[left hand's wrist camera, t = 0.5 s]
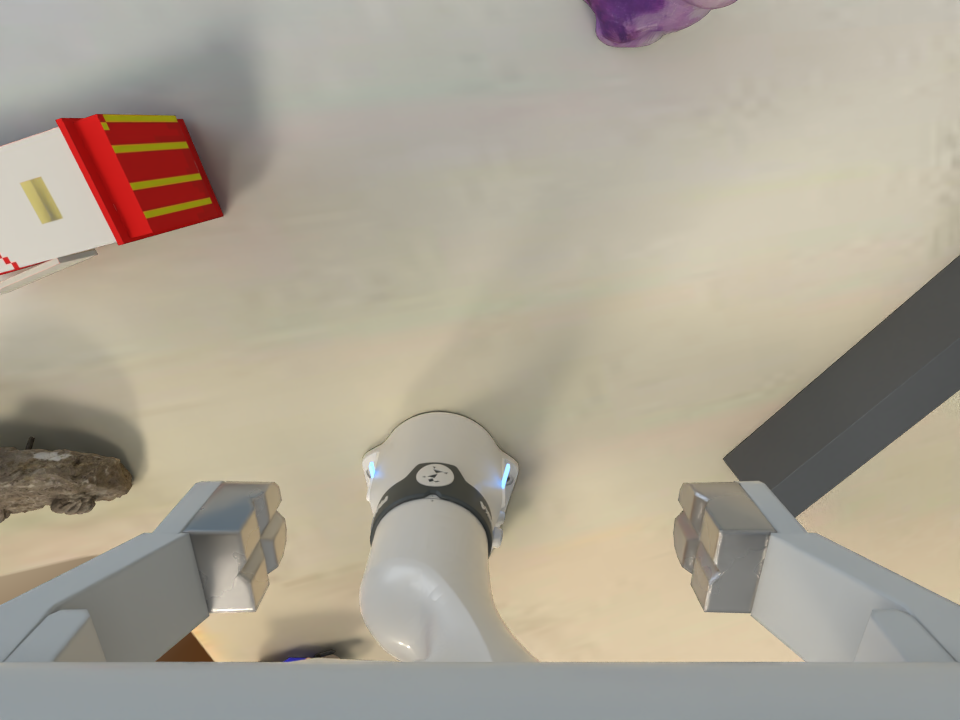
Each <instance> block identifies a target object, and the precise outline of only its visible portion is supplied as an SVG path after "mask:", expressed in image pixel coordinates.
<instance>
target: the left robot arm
mask: <svg viewBox="0 0 960 720" xmlns="http://www.w3.org/2000/svg"><path fill="white" fill-rule="evenodd" d="M362 467H363V471H364V475H365V479H366V482H367V486H368V492H367V501H369V502H370V506H371V510H372V513H373V520H372V525H371V535H370V544H371V550H370V553H369V557H368V561H367V564H366V568H365V571H364V575H363V579H362V582H361V586H360V592H359V604H360V610H361V614H362V617H363V620H364V622H365V624H366V626H367V628H368V629H369V631H370V633H371V634H372V636H373V637H374V639H375V640H376V642H377V643H378V644H379V645H380V646H381V648H382V649H384V650H385V651H386V652H387V653H389V654H390V655H391V656H393V657H394V658H396V659H397V660H399V661H400V662H392V661H373V660H354V659H334V658H312V659H305V660H298V661H292V662H155V661H156V660H157V659H159V658H160V657H161V656H162V655H163V654H164V653H166V652H167V651H168V650H169V649H170V648H172V647H173V646H174V645H175V644H176V643H178V642H179V641H180V640H181V639H182V638H183V637H185V636H186V635H187V634H188V633H189V632H191V631H192V630H193V629H194V628H195V627H197V626H198V625H199V624H200V623H201V622H203V621H204V620H205V619H206V618H207V617H208V616H209V613H235V612H256V610H257V608H258V606H259V604H260V602H261V600H262V598H263V596H264V594H265V592H266V590H267V588H268V586H269V579H268V574H269V573H270V572H271V571H273V570H274V569H276V568H277V567H278V566H279V564H280V561H281V559H282V557H283V554H284V549H285V545H286V523H285V518H284V517H283V516H282V515H281V514H280V513H279V512H278V511H277V508H278V506H279V504H280V503H281V501H282V499H281V494H280V489H279V486H278V485H277V484H276V483H275V482H239V481H226V482H224V481H201V482H198V483H195V484H194V486H193V487H192V488H191V489H190V490H189V491H188V492H187V494H186V495H185V496H184V497H183V498H182V499H181V500H180V502H179V503H178V504H177V505H176V506H175V507H174V508H173V510H172V511H171V512H170V513H169V514H168V515H167V516H166V518H165V519H164V520H163V521H162V522H161V523H160V524H159V526H158V527H157V528H156V529H155V530H154V531H153V532H152V533H143V534H141V535H139V536H137V537H135V538H133V539H131V540H129V541H127V542H125V543H123V544H121V545H119V546H117V547H115V548H113V549H111V550H109V551H107V552H105V553H103V554H101V555H99V556H97V557H95V558H93V559H91V560H89V561H87V562H85V563H83V564H81V565H79V566H77V567H75V568H73V569H71V570H69V571H67V572H65V573H63V574H61V575H59V576H57V577H55V578H54V579H51V580H49V581H47V582H45V583H43V584H42V585H40V586H38V587H36V588H34V589H32V590H30V591H28V592H26V593H24V594H22V595H20V596H18V597H16V598H14V599H12V600H10V601H8V602H6V603H4V604H2V605H0V720H960V605H958V604H956V603H954V602H952V601H950V600H948V599H946V598H944V597H942V596H940V595H938V594H936V593H934V592H932V591H930V590H928V589H926V588H924V587H922V586H920V585H918V584H916V583H914V582H912V581H910V580H908V579H906V578H904V577H902V576H900V575H898V574H896V573H894V572H892V571H890V570H888V569H887V568H885V567H883V566H881V565H879V564H877V563H875V562H873V561H871V560H869V559H867V558H865V557H863V556H861V555H859V554H857V553H855V552H853V551H851V550H849V549H847V548H845V547H843V546H841V545H839V544H837V543H835V542H833V541H831V540H829V539H827V538H825V537H823V536H821V535H819V534H817V533H808V532H807V531H806V530H805V529H804V528H803V527H802V526H801V524H800V523H799V522H798V521H797V520H796V519H795V518H794V516H793V515H792V514H791V513H790V512H789V511H788V510H787V508H786V507H785V506H784V505H783V504H782V503H781V502H780V500H779V499H778V498H777V497H776V496H775V495H774V494H773V492H772V491H771V490H770V489H769V488H768V487H767V486H766V484H764V483H762V482H760V481H738V482H711V483H683V485H682V487H681V489H680V493H679V498H678V501H679V503H680V504H681V506H682V508H683V511H682V512H681V513H680V514H679V515H678V516H677V517H676V518H675V524H674V531H673V535H674V547H675V550H676V554H677V557H678V559H679V561H680V564H681V566H682V567H683V568H684V569H686V570H687V571H689V572H690V573H691V574H692V579H691V586H692V588H693V590H694V592H695V594H696V596H697V598H698V600H699V602H700V604H701V606H702V608H703V610H704V612H724V613H751V616H752V617H753V618H754V619H755V620H757V621H758V622H759V623H760V624H761V625H762V626H764V627H765V628H766V629H767V630H768V631H770V632H771V633H772V634H773V635H774V636H776V637H777V638H778V639H779V640H780V641H781V642H783V643H784V644H785V645H786V646H787V647H789V648H790V649H791V650H792V651H793V652H794V653H796V654H797V655H798V656H799V657H800V658H802V659H803V660H804V661H805V662H540V661H539V660H537V659H536V658H535V657H534V656H533V655H532V654H531V653H530V652H529V651H528V650H527V649H526V648H525V647H524V646H523V645H522V644H521V643H520V642H519V641H518V640H517V639H516V637H515V636H514V635H513V634H512V633H511V631H510V630H509V629H508V627H507V626H506V624H505V623H504V621H503V620H502V618H501V616H500V615H499V613H498V611H497V609H496V606H495V604H494V601H493V596H492V590H491V583H490V574H489V562H488V559H489V557H490V555H491V552H492V549H493V547H494V548H499V547H500V545H501V541H502V534H503V531H502V529H501V528H500V526H501V524H503V523H504V520H505V511H506V508H507V505H508V502H509V499H510V496H511V493H512V490H513V488H514V485H515V482H516V479H517V476H518V472H519V465H518V463H517V462H516V461H515V460H514V459H513V458H512V457H510V456H509V455H507V454H506V453H504V452H503V451H501V450H500V449H499V447H498V446H497V445H496V443H495V441H494V440H493V438H492V437H491V436H490V434H489V433H488V432H487V431H486V430H485V429H484V428H483V427H481V426H480V425H479V424H477V423H476V422H474V421H472V420H471V419H469V418H466V417H464V416H461V415H457V414H453V413H447V412H431V413H425V414H421V415H418V416H415V417H412V418H410V419H408V420H406V421H405V422H403V423H402V424H400V425H399V426H398V427H397V428H396V429H395V430H394V431H393V432H392V433H391V434H390V436H389V437H388V438H387V439H386V441H385V442H384V443H383V444H381V445H379V446H377V447H375V448H374V449H372V450H370V451H368V452H367V453H366V454H365V455H364V456H363V460H362ZM508 476H509V477H508ZM507 477H508V478H507Z"/></svg>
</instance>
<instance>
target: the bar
mask: <svg viewBox="0 0 960 720" xmlns="http://www.w3.org/2000/svg"><path fill="white" fill-rule="evenodd" d="M959 390H960V256H958V257H957V258H956V259H955V260H954V261H953V262H951V263H950V264H949V265H948V266H947V267H946V268H944V269H943V270H942V271H941V272H940V273H939V274H937V275H936V276H935V277H934V278H933V279H932V280H931V281H929V282H928V283H927V284H926V285H925V286H924V287H922V288H921V289H920V290H919V291H918V292H917V293H915V294H914V295H913V296H912V297H911V298H910V299H908V300H907V301H906V302H905V303H904V304H903V305H901V306H900V307H899V308H898V309H897V310H896V311H894V312H893V313H892V314H891V315H890V316H889V317H887V318H886V319H885V320H884V321H883V322H882V323H880V324H879V325H878V326H877V327H876V328H875V329H873V330H872V331H871V332H870V333H869V334H868V335H866V336H865V337H864V338H863V339H862V340H861V341H859V342H858V343H857V344H856V345H855V346H854V347H853V348H851V349H850V350H849V351H848V352H847V353H846V354H844V355H843V356H842V357H841V358H840V359H839V360H837V361H836V362H835V363H834V364H833V365H832V366H830V367H829V368H828V369H827V370H826V371H825V372H823V373H822V374H821V375H820V376H819V377H818V378H816V379H815V380H814V381H813V382H812V383H811V384H809V385H808V386H807V387H806V388H805V389H804V390H802V391H801V392H800V393H799V394H798V395H797V396H795V397H794V398H793V399H792V400H791V401H790V402H788V403H787V404H786V405H785V406H784V407H783V408H782V409H780V410H779V411H778V412H777V413H776V414H775V415H773V416H772V417H771V418H770V419H769V420H768V421H766V422H765V423H764V424H763V425H762V426H761V427H759V428H758V429H757V430H756V431H755V432H754V433H752V434H751V435H750V436H749V437H748V438H747V439H745V440H744V441H743V442H742V443H741V444H740V445H738V446H737V447H736V448H735V449H734V450H733V451H731V452H730V453H729V454H728V455H727V456H726V457H724V458H723V460H724V461H725V463H726V464H727V465H728V466H729V468H730V469H731V470H732V472H733V473H734V474H735V475H736V477H737V478H738V479H739V481H760V482H762V483H764V484H766V486H767V487H768V488H769V489H770V490H771V491H772V492H773V494H774V495H775V496H776V497H777V498H778V499H779V500H780V502H781V503H782V504H783V505H784V506H785V507H786V508H787V510H788V511H789V512H790V513H791V514H792V515H793V516H794V518H795V517H796V516H798V515H799V514H800V513H802V512H803V511H804V510H805V509H807V508H808V507H809V506H811V505H812V504H813V503H815V502H816V501H817V500H818V499H820V498H821V497H822V496H824V495H825V494H826V493H827V492H829V491H830V490H831V489H833V488H834V487H835V486H836V485H838V484H839V483H840V482H842V481H843V480H844V479H845V478H847V477H848V476H849V475H851V474H852V473H853V472H854V471H856V470H857V469H858V468H860V467H861V466H862V465H863V464H865V463H866V462H867V461H869V460H870V459H871V458H872V457H874V456H875V455H876V454H878V453H879V452H880V451H881V450H883V449H884V448H885V447H887V446H888V445H889V444H890V443H892V442H893V441H894V440H896V439H897V438H898V437H899V436H901V435H902V434H903V433H905V432H906V431H907V430H908V429H910V428H911V427H912V426H914V425H915V424H916V423H917V422H919V421H920V420H921V419H923V418H924V417H925V416H927V415H928V414H929V413H930V412H932V411H933V410H934V409H936V408H937V407H938V406H939V405H941V404H942V403H943V402H945V401H946V400H947V399H948V398H950V397H951V396H952V395H954V394H955V393H956V392H957V391H959Z"/></svg>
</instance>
